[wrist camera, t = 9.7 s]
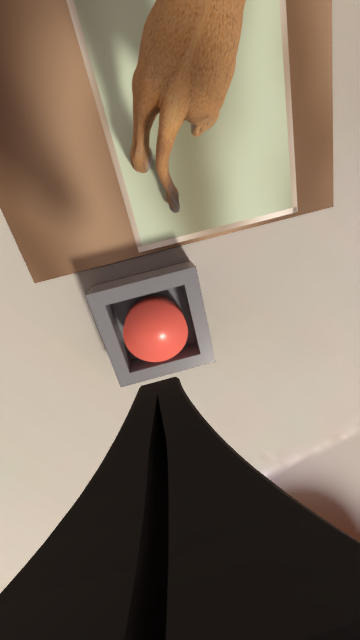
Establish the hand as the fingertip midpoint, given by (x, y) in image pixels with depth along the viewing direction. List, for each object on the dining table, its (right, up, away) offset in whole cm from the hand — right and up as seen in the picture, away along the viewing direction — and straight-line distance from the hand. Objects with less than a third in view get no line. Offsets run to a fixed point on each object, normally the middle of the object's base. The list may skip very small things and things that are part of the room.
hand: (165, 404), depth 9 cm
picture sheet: (-1, +14, +4) cm, 15 cm away
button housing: (-1, +3, +8) cm, 8 cm away
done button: (-1, +3, +7) cm, 8 cm away
